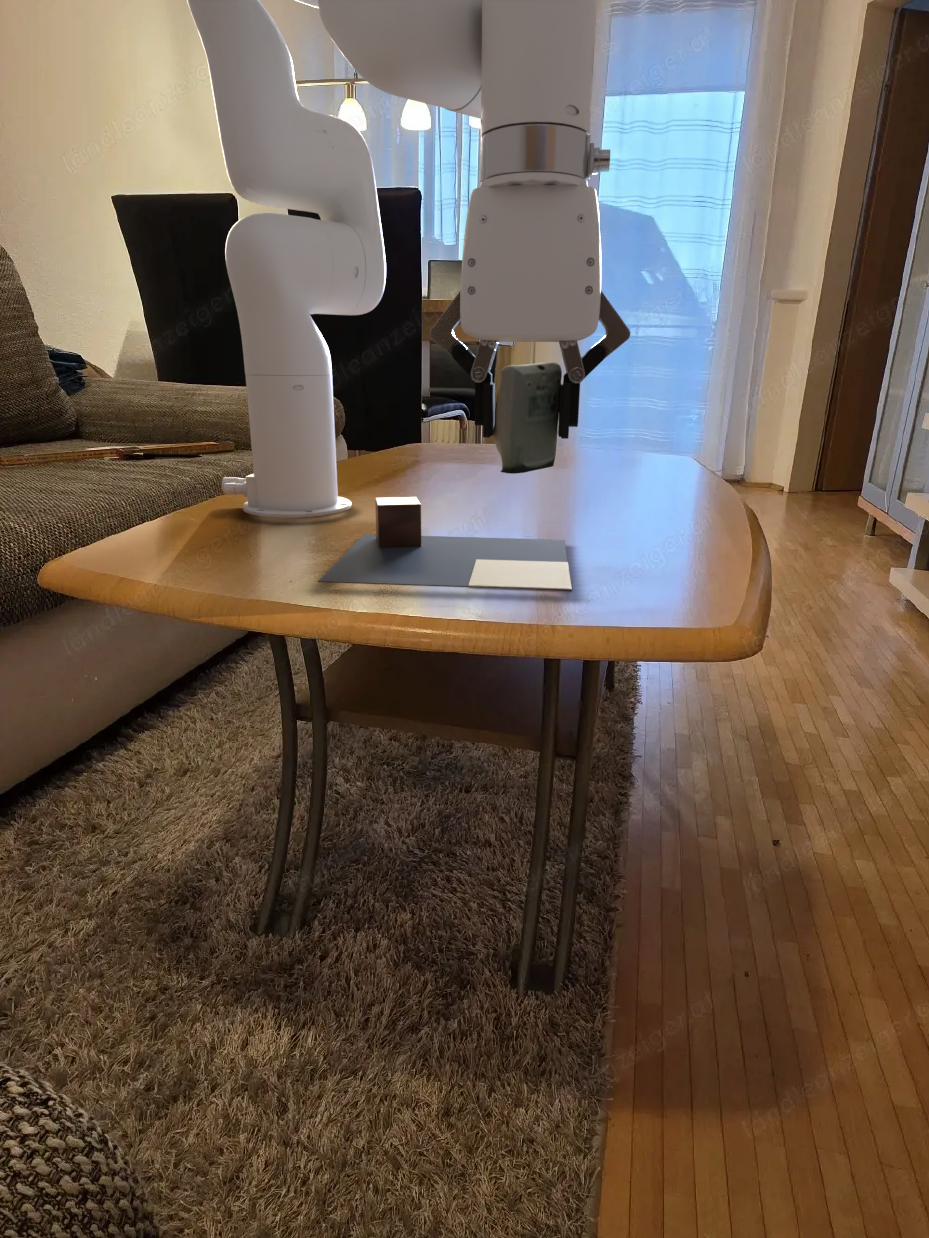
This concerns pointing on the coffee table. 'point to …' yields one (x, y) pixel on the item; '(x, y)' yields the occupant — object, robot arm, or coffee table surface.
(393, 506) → the walnut block
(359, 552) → the mat
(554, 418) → the grey charger brick
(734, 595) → the coffee table surface
